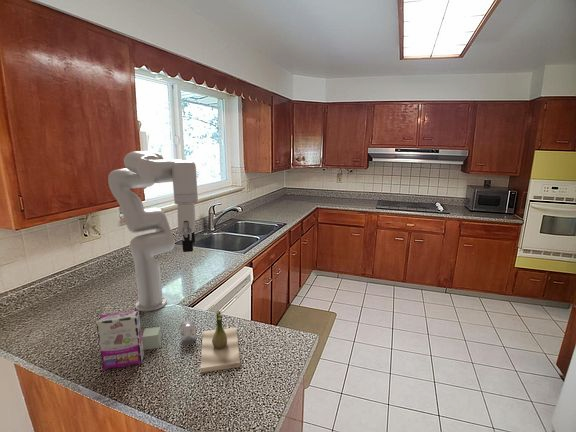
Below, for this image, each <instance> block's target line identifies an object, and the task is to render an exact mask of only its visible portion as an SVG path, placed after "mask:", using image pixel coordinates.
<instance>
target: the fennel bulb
mask: <svg viewBox="0 0 576 432" xmlns="http://www.w3.org/2000/svg"><path fill="white" fill-rule="evenodd" d="M224 329H225V328H224V327H223V315H222V314H221V311H220V310H217V311H216V328H215V330H216V331H215V333H214V335H213V339H212V343H213V346H214V347H215V348H217V349H222V348H223V347H224V346H226V344H227V336H226V333H225V331H224Z"/></svg>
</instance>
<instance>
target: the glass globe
mask: <svg viewBox="0 0 576 432" xmlns="http://www.w3.org/2000/svg"><path fill="white" fill-rule="evenodd" d="M179 331H180V342H181V344H183V345H191V344H193V343H194V342H196V340H197V337H196V333H197V332H196V323H195V322H194V321H192V320H188V321H183V322H182V323H180V325H179Z"/></svg>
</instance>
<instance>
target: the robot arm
mask: <svg viewBox="0 0 576 432" xmlns="http://www.w3.org/2000/svg"><path fill="white" fill-rule="evenodd" d="M123 164H124V167H125V168H119V169H114V170H112V171H111V172H109V173H108V175H107V177H108V178H107V182H108V187H109V190H110V192H111V195H113V198H115V200H116V202H117V203H118V204H119V207H120V211H121V213H122V216H123V219H124V222H125V224H126V227H127V229H128V231H129V232H131V233H133V234H138V233H140V234H139V235H137V236H135V237H133V238H132V239H131V240H130V243H129V248H130V252H131V255H132V258H133V264H134V270H135V279H136V289H137V297H138V301H136V303H135V310H136V311H137V310H139V312H143V313H144V312H152V311H157V310H159V309H161V308H164V306H166V304H167V302H168V301H167V300H168V299H167V297H165V296H163V288H162V286H163V285H162V275H161V265H160V262H159V261H158V260H156V259H155V258H154V256H157V255H160V254H164V253H167V252H171V251H172V250H173V249H174V248H175V245H176V244H175V238H174V235H173V231H172V229H171V227H170V223H169V221H168V218H167V215H166V213H165V212H164V210H163V209H162V208H158V207H152V208H145V206H144V204H143V200H142V199H141V198H140V197H139V195H138V194H136V193H135V192H134V191H132V190H130V189H141V188H148V187H149V188H150V187H152V186H154V185H155V184H162V183H172V187H173V188H172V189H173V200H174V204H175V205H177V233H178V234H180V235H182V238H181V239H182V240H181V244H182V252H183V253H189V252H190V253H191V252H192V253H193V251H194V246H193V245H194V244H195V243H196V235H195V228H196V209H195V208H196V207H195V205H196V204H197V203H198V202H199V200H198V198H199V197H198V182H197V181H198V180H197V179H198V178H197V165H196V163H195V162H194V161H191V160H183V159H165V158H164V157H163V155H162V154H161V153H160V152H158V151H156V150H155V151H154V150H144V151H143V150H140V151H139V150H136V151H130V152H128V153H127V154H126V155H125V156H124V158H123ZM151 231H154V232H151ZM143 232H144V234H141V233H143ZM145 232H149V233H145Z"/></svg>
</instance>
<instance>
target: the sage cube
mask: <svg viewBox="0 0 576 432" xmlns="http://www.w3.org/2000/svg"><path fill="white" fill-rule="evenodd" d="M161 331H162V330H161V326H158V327H157V326H156V327H149V328H144V331H143V334H142V341H143V349H144V351H145V350H153V349H159V348H160V346H161V343H162V333H161Z"/></svg>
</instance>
